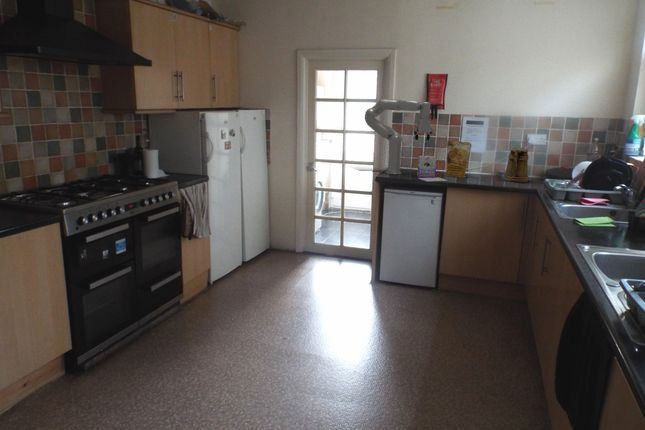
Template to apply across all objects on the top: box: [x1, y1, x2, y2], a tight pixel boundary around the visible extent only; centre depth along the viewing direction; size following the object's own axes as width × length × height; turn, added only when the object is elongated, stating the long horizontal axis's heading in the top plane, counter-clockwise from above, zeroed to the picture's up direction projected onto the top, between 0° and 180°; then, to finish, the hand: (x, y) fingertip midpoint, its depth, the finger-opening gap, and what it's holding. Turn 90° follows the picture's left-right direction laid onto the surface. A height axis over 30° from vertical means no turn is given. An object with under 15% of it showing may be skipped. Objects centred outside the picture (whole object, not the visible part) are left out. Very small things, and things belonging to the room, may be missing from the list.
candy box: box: [416, 155, 437, 178], centre depth 376 cm, size 14×6×16 cm, turn 84°
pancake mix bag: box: [445, 140, 472, 179], centre depth 381 cm, size 7×19×28 cm, turn 53°
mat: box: [417, 177, 449, 183], centre depth 367 cm, size 14×18×1 cm
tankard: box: [503, 147, 530, 183], centre depth 368 cm, size 18×24×25 cm
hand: (422, 140), depth 381 cm, fingers open, 9 cm apart
